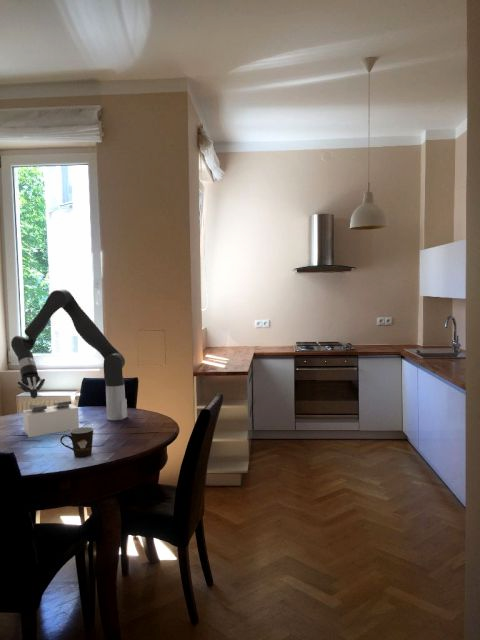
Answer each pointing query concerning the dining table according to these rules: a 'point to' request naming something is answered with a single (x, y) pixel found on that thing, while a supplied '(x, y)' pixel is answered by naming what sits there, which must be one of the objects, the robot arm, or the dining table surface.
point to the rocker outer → (37, 407)
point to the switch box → (50, 420)
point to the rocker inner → (62, 403)
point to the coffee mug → (81, 441)
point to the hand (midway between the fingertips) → (34, 397)
